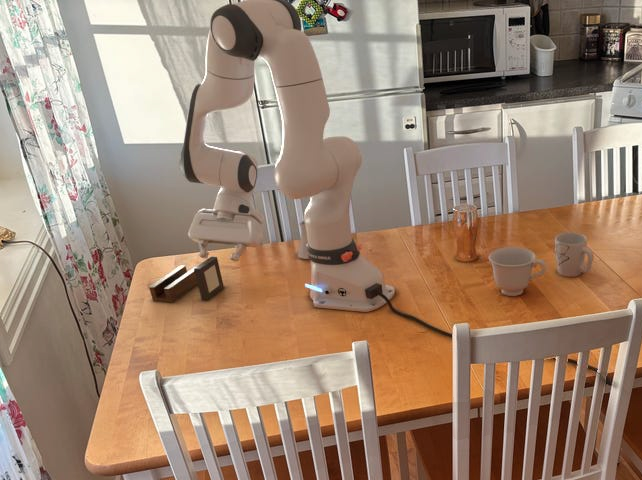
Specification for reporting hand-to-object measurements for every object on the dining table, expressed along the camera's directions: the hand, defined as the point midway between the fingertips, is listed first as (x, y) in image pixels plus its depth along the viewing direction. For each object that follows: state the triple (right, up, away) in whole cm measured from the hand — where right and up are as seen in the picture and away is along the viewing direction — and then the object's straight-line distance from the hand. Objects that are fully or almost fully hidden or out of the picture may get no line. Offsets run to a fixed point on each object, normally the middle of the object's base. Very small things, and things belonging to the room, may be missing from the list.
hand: (218, 259), depth 194 cm
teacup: (+80, -9, -5) cm, 80 cm away
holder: (-11, -8, +2) cm, 14 cm away
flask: (+20, +4, +20) cm, 28 cm away
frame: (-1, -9, -1) cm, 9 cm away
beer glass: (+66, +2, +15) cm, 68 cm away
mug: (+95, -4, +4) cm, 96 cm away
